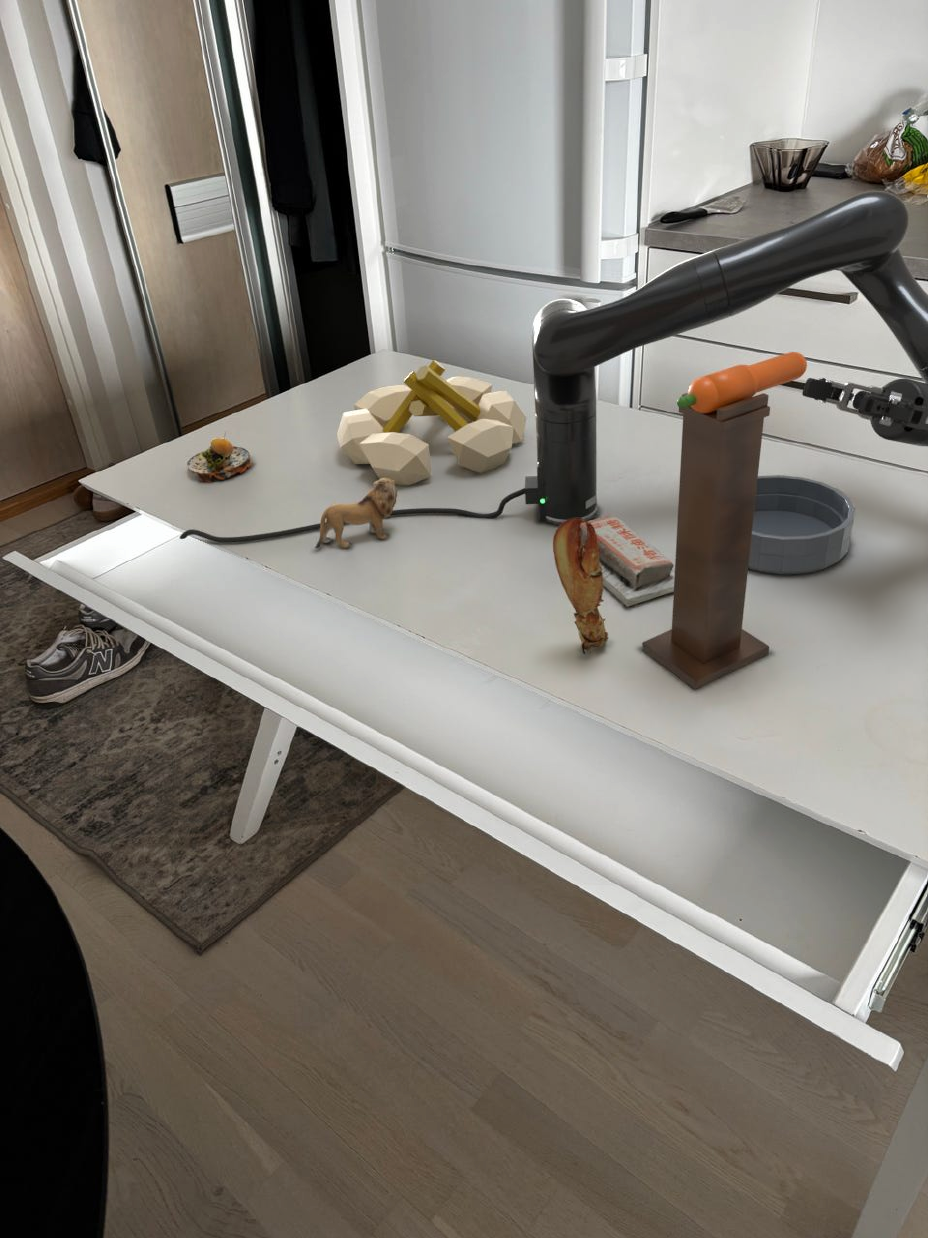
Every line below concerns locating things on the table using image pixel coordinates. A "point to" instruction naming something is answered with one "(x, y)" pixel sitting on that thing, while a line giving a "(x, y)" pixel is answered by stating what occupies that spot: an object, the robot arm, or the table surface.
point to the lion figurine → (360, 512)
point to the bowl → (798, 525)
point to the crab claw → (581, 579)
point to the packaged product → (630, 562)
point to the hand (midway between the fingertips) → (834, 395)
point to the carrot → (742, 382)
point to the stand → (714, 544)
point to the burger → (219, 460)
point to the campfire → (428, 394)
